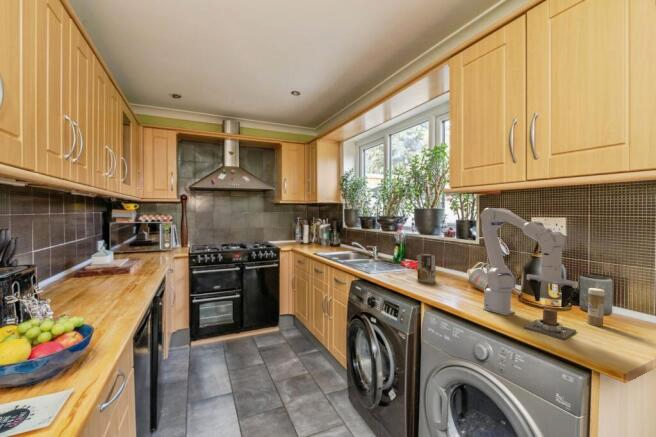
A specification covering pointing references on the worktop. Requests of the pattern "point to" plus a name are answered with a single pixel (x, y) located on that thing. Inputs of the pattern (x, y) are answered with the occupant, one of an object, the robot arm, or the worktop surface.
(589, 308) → the sprinkles bottle
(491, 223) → the robot arm
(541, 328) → the cup bracket
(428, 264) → the coffee box
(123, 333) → the worktop surface
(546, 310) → the walnut peg
